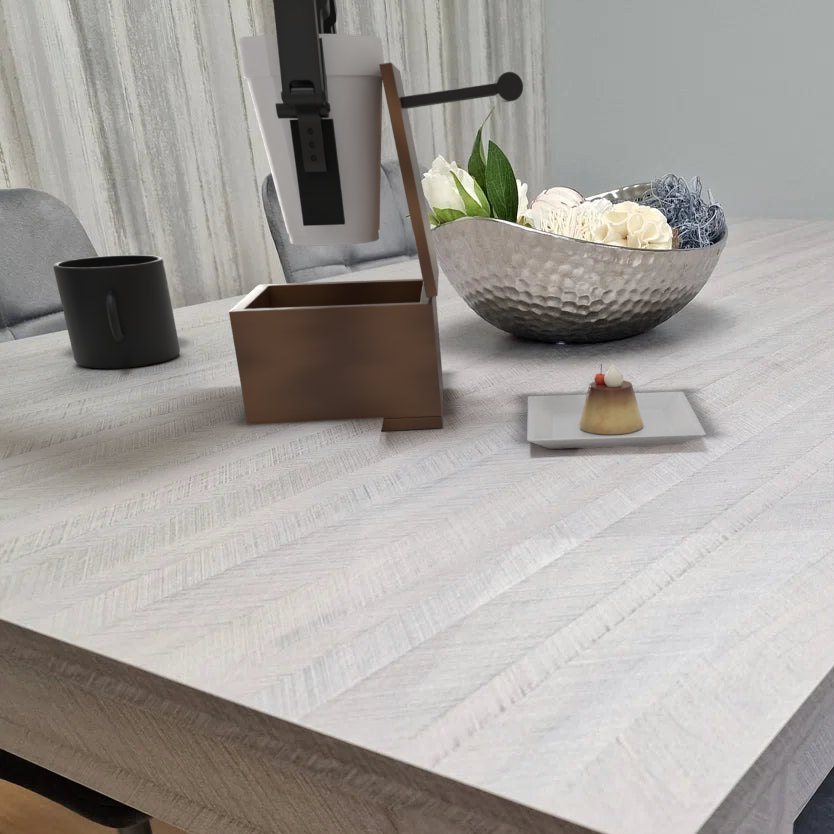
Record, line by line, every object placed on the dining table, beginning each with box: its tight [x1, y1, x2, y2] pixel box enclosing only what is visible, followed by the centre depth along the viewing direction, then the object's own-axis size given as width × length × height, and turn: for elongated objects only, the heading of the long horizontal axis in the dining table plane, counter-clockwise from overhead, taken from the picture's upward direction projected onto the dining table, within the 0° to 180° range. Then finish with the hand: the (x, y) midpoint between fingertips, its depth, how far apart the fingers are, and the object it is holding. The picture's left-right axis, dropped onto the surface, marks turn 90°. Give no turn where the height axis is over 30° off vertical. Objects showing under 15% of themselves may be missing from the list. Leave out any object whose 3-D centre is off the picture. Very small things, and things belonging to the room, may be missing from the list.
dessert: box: [526, 363, 707, 450], centre depth 74 cm, size 12×12×5 cm
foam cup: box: [236, 33, 385, 247], centre depth 73 cm, size 10×9×13 cm
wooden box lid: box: [379, 61, 524, 298], centre depth 75 cm, size 15×13×9 cm
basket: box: [228, 278, 444, 432], centre depth 79 cm, size 14×13×9 cm
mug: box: [52, 254, 181, 370], centre depth 97 cm, size 9×12×9 cm
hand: (331, 218), depth 75 cm, fingers closed on foam cup, 9 cm apart
